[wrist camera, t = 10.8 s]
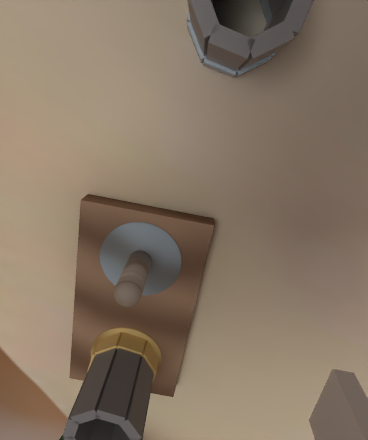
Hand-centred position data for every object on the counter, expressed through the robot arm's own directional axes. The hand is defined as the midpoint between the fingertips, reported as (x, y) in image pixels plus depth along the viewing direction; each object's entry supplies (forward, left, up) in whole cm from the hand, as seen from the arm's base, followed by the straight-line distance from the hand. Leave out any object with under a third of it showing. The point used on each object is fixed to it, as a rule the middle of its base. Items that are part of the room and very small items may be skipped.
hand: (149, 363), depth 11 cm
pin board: (+6, +5, -14) cm, 16 cm away
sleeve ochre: (+9, +9, -12) cm, 18 cm away
